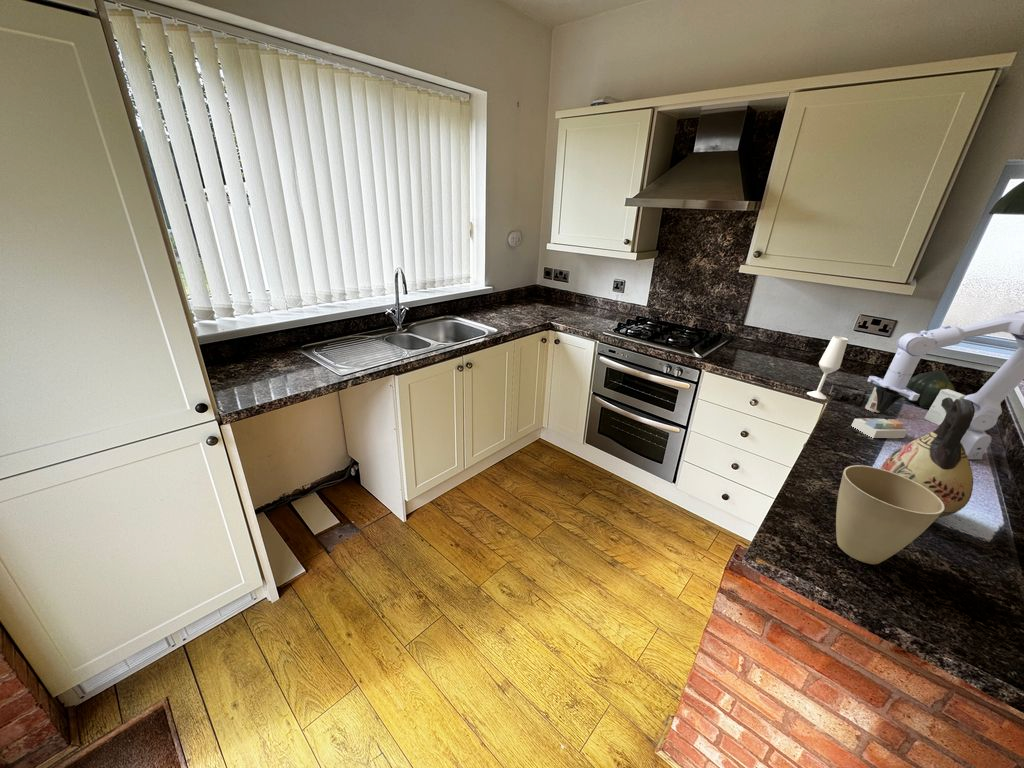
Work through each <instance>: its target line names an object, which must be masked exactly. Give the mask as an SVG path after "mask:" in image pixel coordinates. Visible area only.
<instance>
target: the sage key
mask: <svg viewBox="0 0 1024 768" xmlns="http://www.w3.org/2000/svg"><path fill="white" fill-rule="evenodd" d="M878 421H880V422H882V423H884V425H883V427H882V428H884V429H892V427H893V425H894V423H892V422H890V421H888V419H885V418H879V419H878Z"/></svg>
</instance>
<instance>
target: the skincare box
mask: <svg viewBox="0 0 1024 768" xmlns="http://www.w3.org/2000/svg"><path fill="white" fill-rule="evenodd" d="M955 391H956V390H955ZM955 391H952V390H949V389H943V390H940V392H939V394H938V396H937V397H936V399H935V401H934V402H933V404H932V406H931V407H930V408H928V409H929V410H927V412H926V414H925V416H924V417H923V420H926V421H928V422H931V423H933V424H936V425H938V426H939V425H940V424H941V423H942V422H943V420H944V418H945V416H946V411H945V409H944V408H943V407H942V406H941V404H942V400H943V399H945V398H948V397H949V398H951V399H952V400H953V402H954V401H955V400H956V399H963V398H964V397H965V396H967V395H966V394H963V393H960V392H957V391H956V392H955Z"/></svg>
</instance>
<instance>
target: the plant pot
mask: <svg viewBox="0 0 1024 768" xmlns="http://www.w3.org/2000/svg"><path fill="white" fill-rule="evenodd" d="M837 495H838V496H837V501H836V515H835V533H836V534H835V535H836V537H835V538H836V543H837V546H838V548H839V549H840V550H842V551H843V552H844V553H845V554H846V555H848V556H849V557H851V558H852V559H855V560H857V561H859V562H862V563H865V564H868V565H879V564H880V563H882V562H885V561H886V560H888V559H890V558H891V557H893V556H894V555H896V554H897V553H899V552H901V550H903V549H904V548H906V547H907V546H908V545H910V544H912V542H914V541H915V540H916V539H917V538H918V537H919V536H920V535H922V534H923V533H924V532H925V531H926V530H927V529H928V528H929V527H930V526H931V525H932V524H933V523H935V522H936V521H937V520H938V518H939V517H938V516H939V515H940V514H941V513H942V512H943V511H944V509H945V507H944V504H943V502H942V501H941V500H940V499H939V498H938V497H937V496H936V495H935V494H934V493H933V492H931V491H930V490H928V489H927V488H925V487H923V486H922V485H920V484H918V483H916V482H914V481H912V480H910V479H908V478H906V477H903V476H901V475H898V474H895V473H893V472H890V471H887V470H883V469H880V467H879V468H878V467H874V466H869V465H859V464H858V465H856V464H855V465H854V464H853V465H850V466H847V467H845V468H844V470H843V473H842V477H841V480H840V485H839V489H838V494H837ZM936 519H937V520H936ZM935 520H936V521H935ZM934 521H935V522H934Z"/></svg>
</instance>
